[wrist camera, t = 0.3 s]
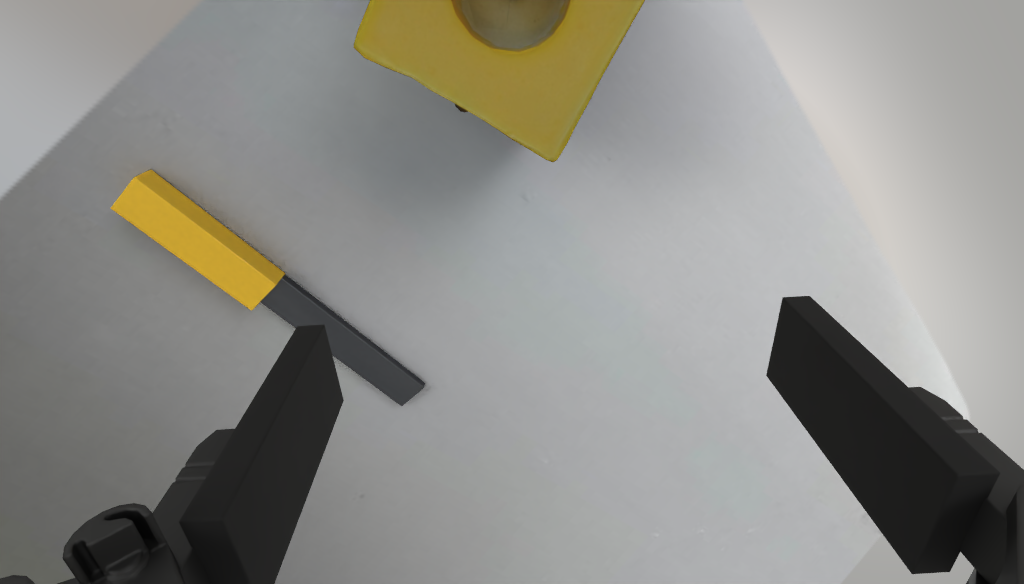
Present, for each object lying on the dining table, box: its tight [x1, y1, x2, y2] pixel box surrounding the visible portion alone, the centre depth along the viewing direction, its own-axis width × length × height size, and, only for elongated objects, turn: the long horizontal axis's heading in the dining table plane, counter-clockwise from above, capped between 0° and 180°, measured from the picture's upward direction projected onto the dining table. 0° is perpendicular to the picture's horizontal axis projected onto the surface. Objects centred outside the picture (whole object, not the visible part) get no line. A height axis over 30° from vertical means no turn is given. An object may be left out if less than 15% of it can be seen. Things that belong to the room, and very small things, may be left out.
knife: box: [111, 170, 425, 406], centre depth 37 cm, size 23×3×2 cm, turn 43°
